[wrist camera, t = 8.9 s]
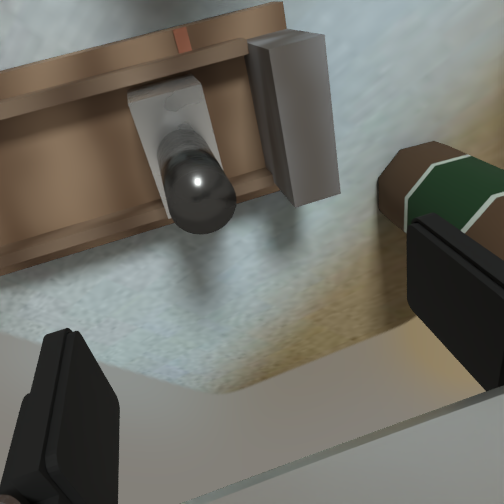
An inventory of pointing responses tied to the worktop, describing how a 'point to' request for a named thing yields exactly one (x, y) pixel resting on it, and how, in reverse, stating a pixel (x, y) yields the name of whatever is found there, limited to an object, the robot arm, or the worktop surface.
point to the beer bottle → (445, 192)
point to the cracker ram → (183, 153)
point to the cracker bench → (128, 141)
